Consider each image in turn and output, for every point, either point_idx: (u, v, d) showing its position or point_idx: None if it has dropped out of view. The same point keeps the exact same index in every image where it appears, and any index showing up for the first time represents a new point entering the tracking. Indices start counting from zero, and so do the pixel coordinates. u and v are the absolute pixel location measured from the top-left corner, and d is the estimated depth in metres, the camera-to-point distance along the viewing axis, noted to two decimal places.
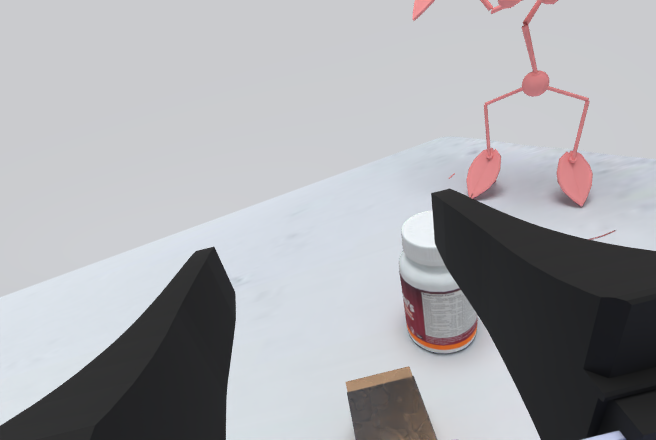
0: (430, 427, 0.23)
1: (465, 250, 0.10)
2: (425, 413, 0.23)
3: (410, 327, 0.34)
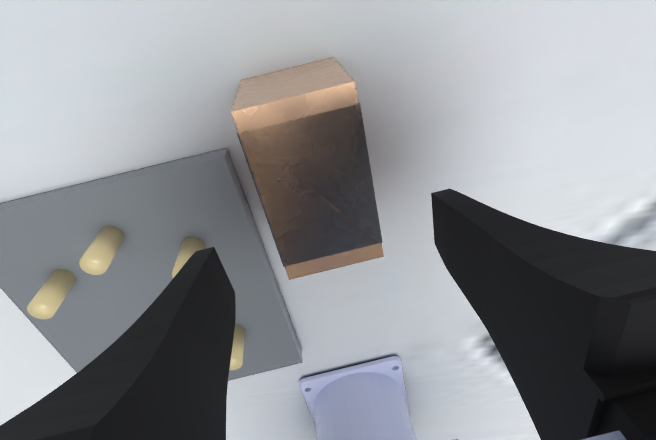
0: (370, 188, 0.16)
1: (465, 250, 0.10)
2: (367, 169, 0.15)
3: None
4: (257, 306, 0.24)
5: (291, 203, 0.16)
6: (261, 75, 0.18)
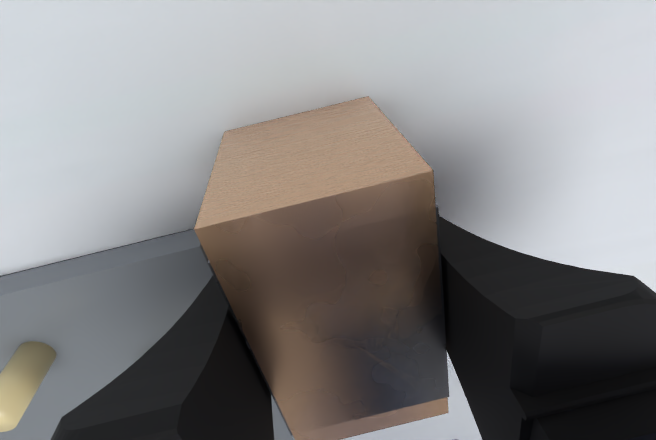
0: (440, 330, 0.09)
1: None
2: (439, 305, 0.09)
3: None
4: None
5: (305, 357, 0.09)
6: (256, 126, 0.11)
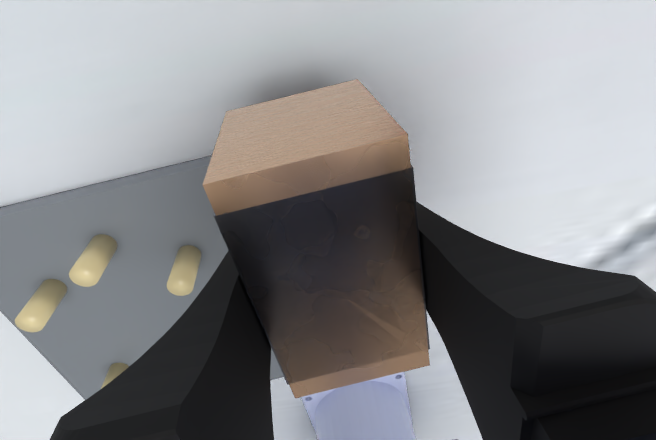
0: (419, 284, 0.11)
1: None
2: (417, 259, 0.10)
3: None
4: None
5: (299, 307, 0.10)
6: (255, 106, 0.13)
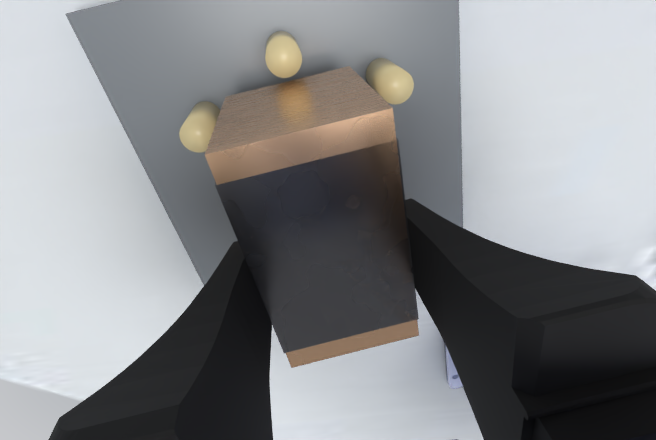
0: (407, 254, 0.11)
1: (421, 261, 0.11)
2: (404, 229, 0.11)
3: None
4: (434, 178, 0.19)
5: (295, 275, 0.11)
6: (253, 91, 0.13)
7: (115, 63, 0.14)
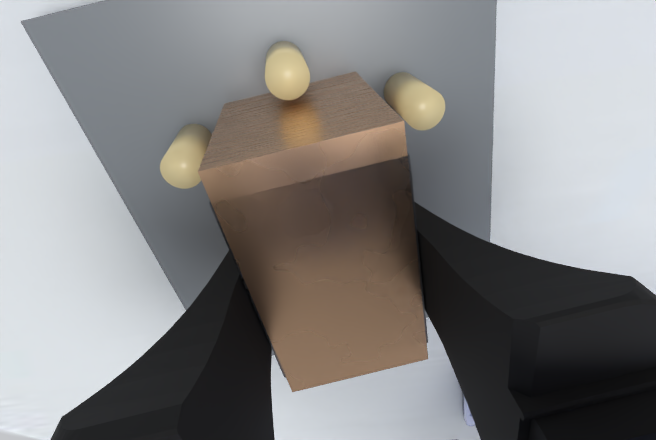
0: (417, 275, 0.10)
1: None
2: (414, 250, 0.10)
3: None
4: (459, 207, 0.16)
5: (296, 298, 0.10)
6: (253, 98, 0.13)
7: (84, 80, 0.12)
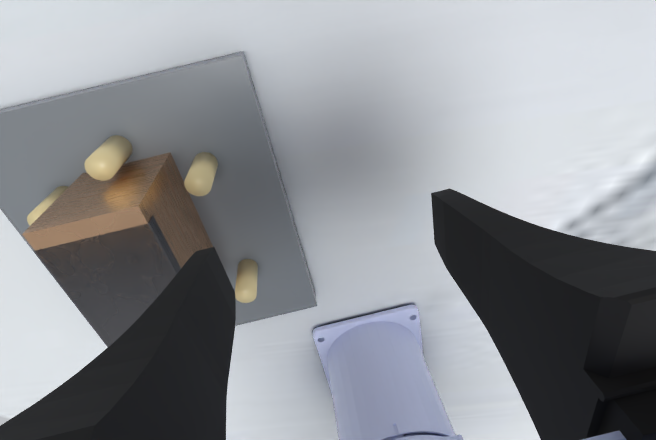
0: None
1: (465, 250, 0.10)
2: (174, 275, 0.16)
3: None
4: (271, 238, 0.23)
5: (106, 304, 0.17)
6: None
7: None
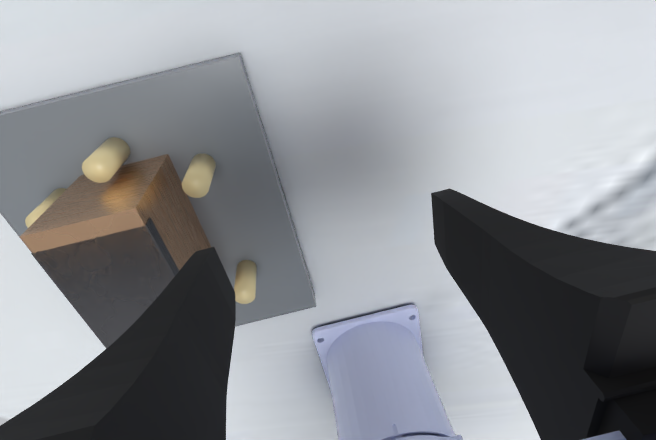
0: None
1: (465, 250, 0.11)
2: (172, 277, 0.16)
3: None
4: (270, 239, 0.23)
5: (104, 306, 0.17)
6: None
7: None
